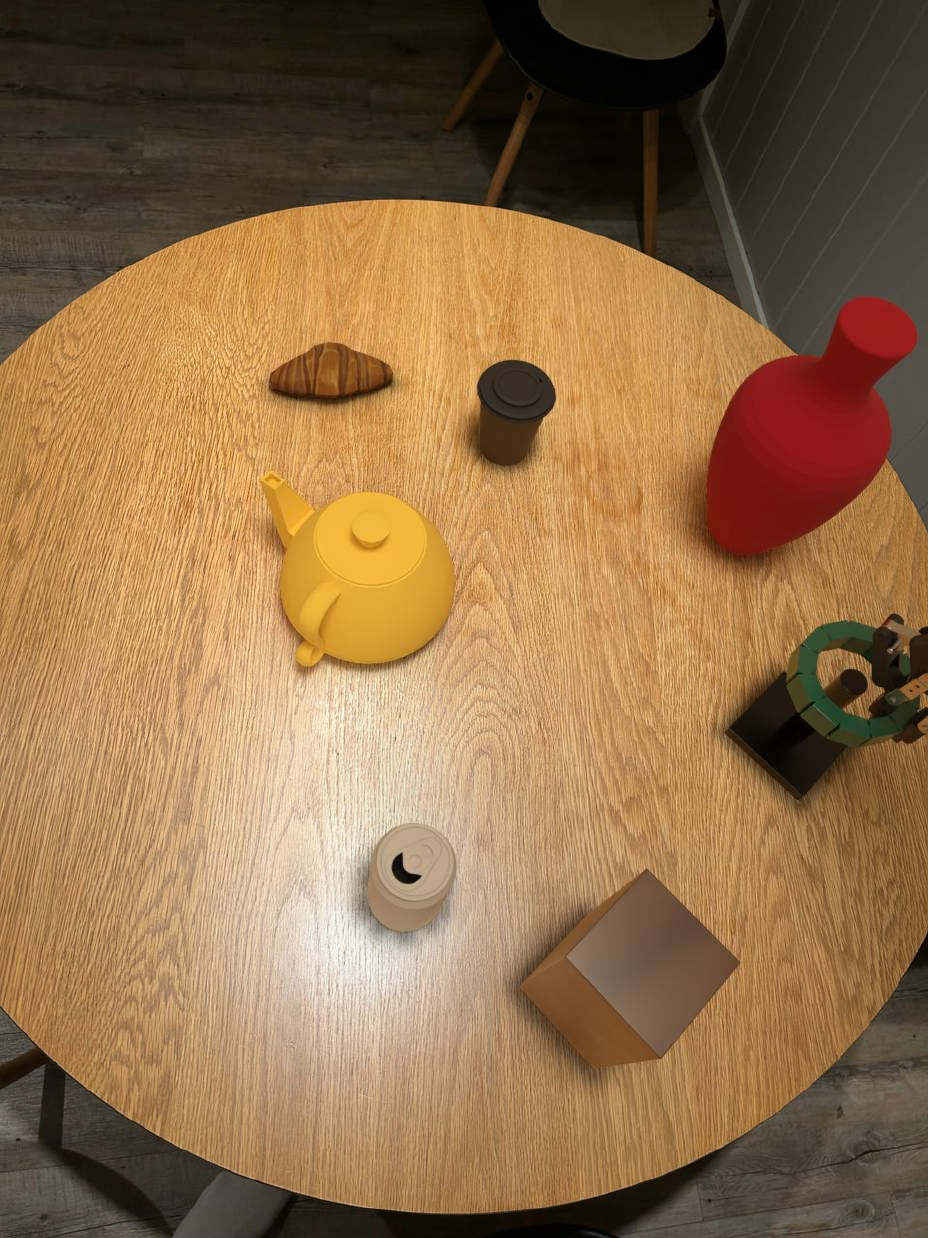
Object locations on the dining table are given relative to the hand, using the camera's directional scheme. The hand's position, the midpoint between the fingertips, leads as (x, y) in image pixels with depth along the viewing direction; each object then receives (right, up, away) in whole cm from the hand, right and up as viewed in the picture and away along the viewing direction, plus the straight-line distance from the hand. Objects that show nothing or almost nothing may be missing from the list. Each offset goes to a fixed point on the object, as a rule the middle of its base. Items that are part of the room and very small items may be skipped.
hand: (888, 724), depth 78 cm
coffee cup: (-31, +28, +24) cm, 48 cm away
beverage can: (-40, -14, +1) cm, 43 cm away
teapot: (-47, +11, +13) cm, 50 cm away
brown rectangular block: (-25, -22, -1) cm, 33 cm away
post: (-4, -2, +12) cm, 13 cm away
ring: (-3, +3, +1) cm, 4 cm away
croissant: (-50, +35, +25) cm, 66 cm away
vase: (-6, +18, +22) cm, 30 cm away
